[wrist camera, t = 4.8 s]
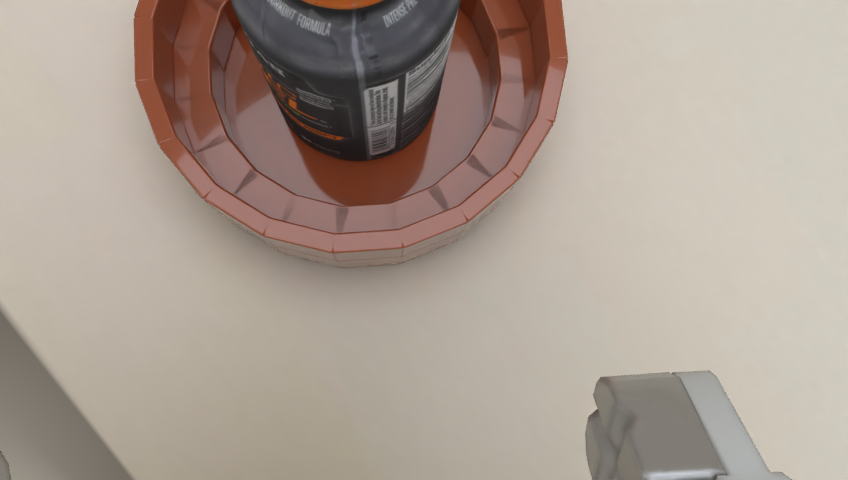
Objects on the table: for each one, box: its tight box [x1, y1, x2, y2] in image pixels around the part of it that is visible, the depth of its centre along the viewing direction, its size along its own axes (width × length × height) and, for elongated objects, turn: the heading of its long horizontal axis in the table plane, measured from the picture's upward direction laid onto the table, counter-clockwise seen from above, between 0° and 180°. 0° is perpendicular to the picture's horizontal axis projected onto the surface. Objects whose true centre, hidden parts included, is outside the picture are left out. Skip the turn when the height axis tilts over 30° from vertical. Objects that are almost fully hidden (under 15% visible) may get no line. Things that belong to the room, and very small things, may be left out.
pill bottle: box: [231, 0, 461, 161], centre depth 20 cm, size 6×6×11 cm
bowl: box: [134, 0, 568, 268], centre depth 24 cm, size 13×13×4 cm
